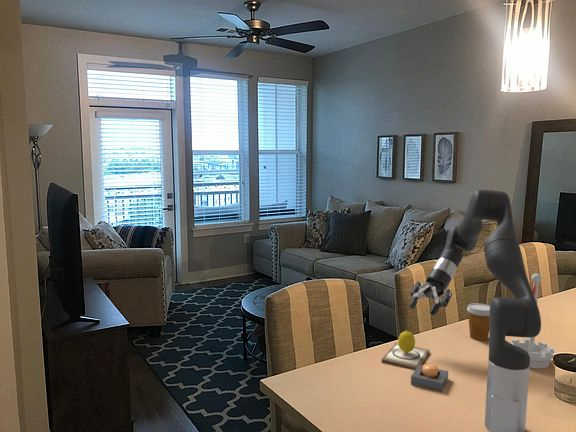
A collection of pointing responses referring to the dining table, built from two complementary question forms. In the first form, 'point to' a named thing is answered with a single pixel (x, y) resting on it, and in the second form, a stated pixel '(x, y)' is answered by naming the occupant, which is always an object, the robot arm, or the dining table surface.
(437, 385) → the button housing
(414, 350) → the drawing board
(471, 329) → the disposable coffee cup
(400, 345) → the lemon
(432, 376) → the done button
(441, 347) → the dining table surface
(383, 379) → the dining table surface
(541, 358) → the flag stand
